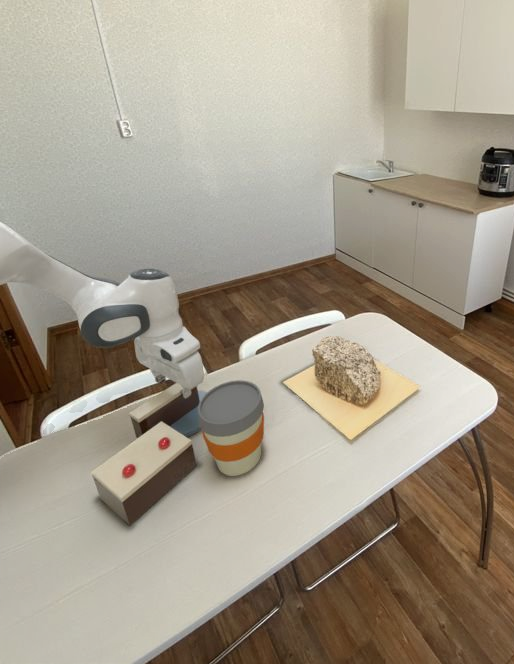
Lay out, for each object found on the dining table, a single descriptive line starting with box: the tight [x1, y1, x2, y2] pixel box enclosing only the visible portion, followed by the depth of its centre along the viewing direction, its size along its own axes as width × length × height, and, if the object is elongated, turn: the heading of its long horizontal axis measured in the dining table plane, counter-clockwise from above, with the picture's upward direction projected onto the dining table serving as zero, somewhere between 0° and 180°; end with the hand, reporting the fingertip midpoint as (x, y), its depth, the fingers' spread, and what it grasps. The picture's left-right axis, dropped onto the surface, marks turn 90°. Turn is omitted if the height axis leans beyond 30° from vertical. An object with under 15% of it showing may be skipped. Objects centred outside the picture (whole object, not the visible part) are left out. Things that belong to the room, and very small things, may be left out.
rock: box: [282, 335, 422, 441], centre depth 101 cm, size 28×22×16 cm
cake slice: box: [129, 382, 200, 439], centre depth 88 cm, size 4×14×7 cm, turn 148°
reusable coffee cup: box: [198, 379, 265, 477], centre depth 79 cm, size 13×13×15 cm
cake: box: [90, 421, 198, 526], centre depth 75 cm, size 10×14×9 cm
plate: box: [170, 390, 207, 438], centre depth 92 cm, size 15×15×1 cm
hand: (173, 388), depth 89 cm, fingers open, 8 cm apart
